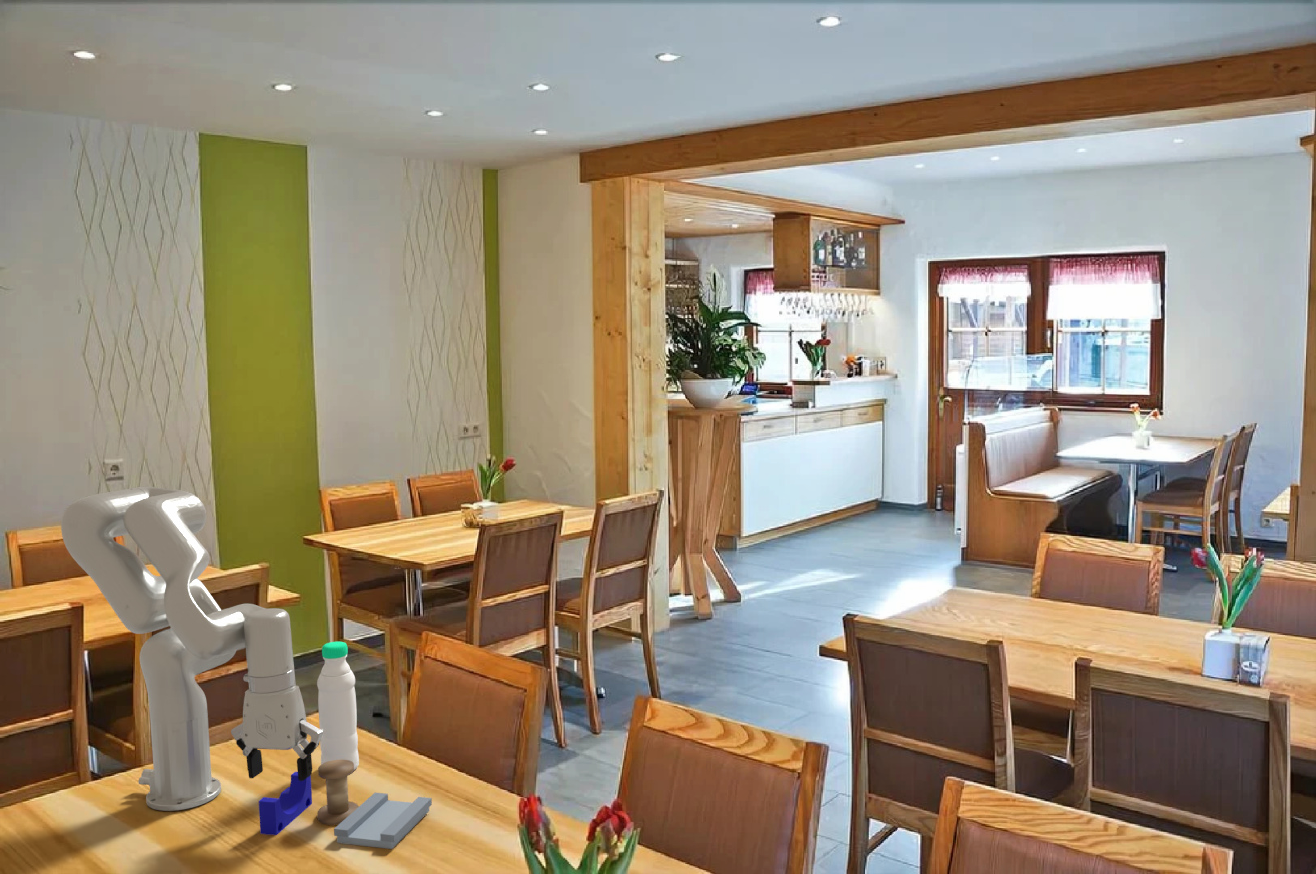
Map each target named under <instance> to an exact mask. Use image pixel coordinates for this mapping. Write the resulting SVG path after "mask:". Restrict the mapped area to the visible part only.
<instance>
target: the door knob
mask: <svg viewBox="0 0 1316 874" xmlns="http://www.w3.org/2000/svg"><path fill="white" fill-rule="evenodd" d="M317 769H318V770H317V772H318V777H320V779H324V780H325V786H326V788H325V789H326V791H325V792H326V804H325V805H323V806H321V807H320V808H319V809H318V810H317V815H316V816H317V821H318V822H319V823H320V824H323V825H327V826H335V825H337V826H338V825H339V824H340V823H341V822H342V821H343V820H344V819H346V818H347V817H348V816H349V815H350V814H351V813H352V812H354V811H355V810H356V809H357V808H358V807H359V806H360V805H358V804H357V803H356V802H353V801H349V784H348V782H349V781H348V776H351V774H353V773H354V772H355V770H354V763H353V762H352V761H350V760H343V759H340V760H332V761H328V762H325V763H323V764H322V765H321V764H320V765H319V766H318V768H317Z"/></svg>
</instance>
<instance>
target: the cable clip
mask: <svg viewBox="0 0 1316 874" xmlns="http://www.w3.org/2000/svg"><path fill="white" fill-rule="evenodd" d="M311 777H312V774H311V775H310V776H309V777H308V778H306V779H305V780H304V781H299V780H298V771H294V772H292V774H290V786H288V787H286V788H285V789H284V790H283V791H282V792H281V793H280V794H279V797H277V798H276V797H265V796H263V797H262V798H261V799H259V800H258V810H259V811H258V814H259V831H260V832H259V833H260V835H267V836H269V835H270V836H277V835H279V834H280V833H281V832H282V831H284V830H285V829H286V828H287V827H288V826H289V825H290V824H291V823H292V822H293V821H294V820H295V819H297V818H298V817H299V816H300V815H301V814H302V813H304V811H306V810H307V808H309V807H310V806H311V805H312V804H313V796H312V778H311Z"/></svg>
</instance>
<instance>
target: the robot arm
mask: <svg viewBox="0 0 1316 874" xmlns="http://www.w3.org/2000/svg"><path fill="white" fill-rule="evenodd" d="M206 509H207V508H206V507H205V505H204V503H203V502H202V501H201V499H200V498H199V497H198V496H196V495H195V494H194V493H191V492H190V491H187V490H182V489H181V490H180V489H173V488H172V489H171V488H163V487H155V486H138V487H130V488H126V489H125V488H124V489H119V490H118V489H117V490H113V491H107V492H102V493H96V494H91V495H89V496H85V497H81V498H79V499H77V500H75V501H73V502H72V503H70V504H69V505H68V506H67V507H66V508H65V510H64V512H63V514H62V516H61V521H60V522H61V523H60V529H61V531H60V532H61V536H62V541H63V543H64V545H65V549H66V550H67V551H68V554H70V556H71V557H72V559H73V560H74V561H75V562H76V563H77V565H78V566H79V567H81V569H82V570H83V571H85V573H86V575H88V576H89V577H90V578H91V579H92V580H93V582H94V584H95V585H96V586H97V588H98V589H99V590H100V593H101V594H102V595H103V597H104V598H105V600H106V601H107V603H108V604H109V606H110V607H111V609H112V611H114V613H115V614H116V616H117V617H118V618H119V620H120V621H121V623H122V624H123V625H124V627H125V628H126V629H127V630H128V631H129V632H130V633H133V634H137V635H139V634H140V635H141V634H147V633H151V632H155V631H158V630H162V629H163V630H162V631H159V632H156V634H154V635H151V637H149V638H148V639H147V640H146V641H145V642H144V644H143V645H142V647H141V649H140V651H139V663H140V668H141V672H142V674H143V679H144V682H145V686H146V691H147V698H148V699H147V700H148V707H149V709H148V710H149V720H150V734H151V748H152V749H151V750H152V764H153V769H151V768H144V769H143V770H142V772H141V776H140V777H138V781H137V783H138V784H139V785H143V786H147V785H148V786H149V791H148V793H146V797H145V800H146V801H145V802H146V805H147V806H148V807H149V808H151V809H153V810H157V811H161V812H162V811H163V812H164V811H165V812H168V811H169V812H173V811H181V810H188V809H192V808H196V807H198V806H201V805H203V804H206V803H208V802H211V801H212V800H215V798H216V797H218V796H219V794H220V793H221V791H222V784H221V782H220V780H218V779H217V778H215V777H212V764H211V763H212V762H211V749H210V748H211V747H210V746H211V745H210V733H209V717H208V715H209V714H208V713H209V712H208V703H207V698H206V695H205V692H204V691H203V689H202V688H201V686H199V684H198V683H197V681H196V678H195V677H196V676H197V675H199V674H202V673H203V672H205V671H209V670H211V669H214V668H216V667H218V666H221V665H223V664H226V663H227V662H229V661H230V660H231V659H232V658H233V657H234V656H235V655H236V652H237V651H240V650H244V649H245V655H246V665H247V666H246V667H247V673H245V674H244V675H243V679H242V680H243V681H244V682H247V683H248V688H247V690H245V691H244V698H243V707H242V723H240V724H238V725H237V726H235V727H233V728H232V729H231V730H230V733H231V735H232V737H233V739H234V740H235V742H236V743H235V744H236V745H237V747H239V749H240V750H241V751H242V755H243V757H246V765H247V772H248V773H247V774H248V778H249V779H254V778H256V777H257V776H258V775H261V773H263V771H264V768H263V767H264V766H263V758H262V751H261V750H276V751H277V750H280V751H288V750H293V751H294V752H295V754H296V755H297V756H298V757H299V758H297V759H296V767H297V772H298V780H299V781H304V780H305V779H306V778H308V777H309V776H310V775H311V776H312V772H313V763H312V762H313V761H312V754H313V753H314V751H315V750H316V749H317V747H319V746H320V740H321V737H322V735H323V731H322V730H320V727H319V728H318V727H316V726H315V725H314V724H311V723H310V722H308V721H307V716H306V709H305V703H304V701H303V700H304V699H303V696H302V693H301V690H300V687H299V685H296V674H295V665H294V664H295V663H294V653H293V652H294V651H293V640H292V629H291V627H292V626H291V619H290V617H291V616H290V614H289V612H287V610H285V609H283V608H276V607H274V608H273V607H272V608H265V607H263V606H259V605H256V604H254V603H242V604H237V605H234V606H230V607H228V608H223V609H222V608H221V607H220V605H219V604H218V603H217V601H216V599H214V597H213V596H212V594H211V593H210V592H209V589H207V587H206V586H205V583H203V582H202V581H201V580H200V579H199V577H200V576H201V575H202V574H203V573H204V572H205V570H206V569H207V567H208V566H209V564H210V559H211V557H210V553H209V552H208V550H207V549H206V548H205V547H204V545H203V544H202V543H201V542H200V541H199V539H198V538H197V536H195V534H198V533H199V532H201V530H203V528H204V527H205V525H206V523H207V519H208V517H207V510H206ZM126 535H129V536H130V538H131V539H132V540H133V542H135V544H136V545H137V547H138V548H139V549H140V551H141V552H142V553H143V554H144V556H145V557H146V558H147V559H148V562H150V563H151V565H152V567H153V568H154V569H155V570H156V572H157V573H158V574H159V575H158V576H157V575H154V574H152V572H151V571H150V570H149V568H148V567H147V566H146V565H145V563H144V562H143V560H142V558H140V556H138V555H137V553H135V552H134V551H132V550H131V549H130V548H129V547H127V546H125V545H122V544H120V543H119V542H117V541H115V540H114V538H117V537H122V536H126ZM167 627H170V628H167ZM165 628H166V629H165ZM308 736H309V737H310V742H309V741H308V739H307V738H308Z"/></svg>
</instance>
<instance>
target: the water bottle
mask: <svg viewBox="0 0 1316 874" xmlns="http://www.w3.org/2000/svg"><path fill="white" fill-rule="evenodd" d="M348 649H349V647H348V645H347V642H343V641H331V642H330V641H329V642H327V643H325V644H324V645H322V647H321V654H322V659H323V660H324V665H323V666H322V668H321V672H320V673H319V676H318V677H317V681H316V685H317V689H318V696H317V697H318V698H317V699H318V702H317V703H318V704H317V705H318V706H317V708H318V722H319V729H320V730H322V731H323V735H322V737H321V740H320V742H319V746H320V751H321V755H320V765H322V764H323V763H325V762H328V761H332V760H340V759H343V760H350V761H352V762H353V763H354V771H355V770H356V769H357V768H359V764H360V755H359V749H358V744H359V738H358V732H357V726H358V725H357V723H358V722H357V720H358V719H357V718H358V716H357V697H356V689H355V685H356V677H355V674H354V672H353V671H352V669H351V668H350V665H349V663H348V662H347V660H346V659H347V657H348Z"/></svg>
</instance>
